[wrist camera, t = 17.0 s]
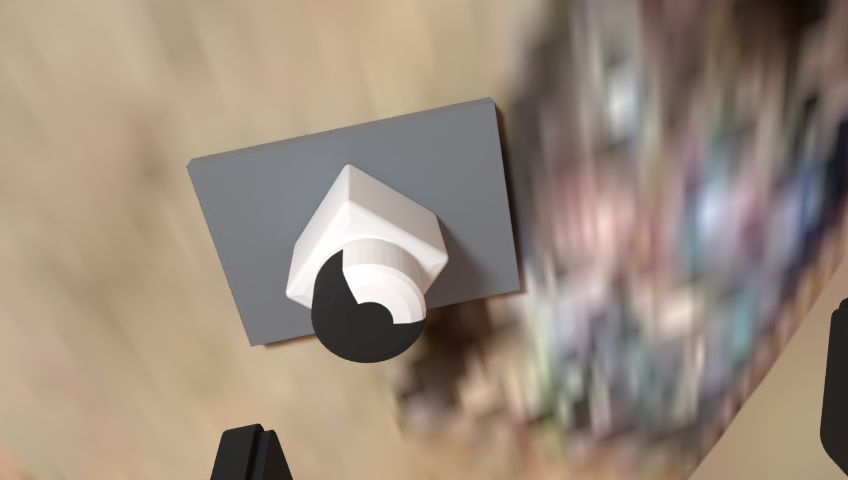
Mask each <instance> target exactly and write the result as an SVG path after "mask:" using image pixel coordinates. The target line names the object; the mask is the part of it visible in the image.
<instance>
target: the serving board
mask: <svg viewBox="0 0 848 480" xmlns="http://www.w3.org/2000/svg"><path fill="white" fill-rule="evenodd" d="M348 164H350V165H353V166H354V167H356V168H358V169H359V170H361V171H363V172H365V173H366V174H368V175H370V176H371V177H373V178H375V179H377V180H378V181H380V182H382V183H383V184H385V185H387V186H388V187H390V188H392V189H394V190H395V191H397V192H399V193H400V194H402V195H404V196H406V197H407V198H409V199H411V200H412V201H414V202H416V203H417V204H419V205H421V206H423V207H424V208H426V209H428V210H429V211H431V212H433V213H434V214H435V215H436V218H437V221H438V225H439V228H440V231H441V235H442V238H443V241H444V245H445V248H446V251H447V255H448V262H447V264H446V265H445V267H444V268H443V269H442V271H441V272H440V273H439V275H438V276H437V278H436V279H435V280H434V282H433V283H432V284H431V286H430V287H429V289H428V290H427V291H426V293H425V294H424V300H425V306H426V310H427V309H432V308H436V307H441V306H446V305H450V304H455V303H460V302H465V301H469V300H474V299H479V298H484V297H488V296H493V295H498V294H502V293H507V292H512V291H517V290H520V284H519V276H518V269H517V262H516V255H515V248H514V240H513V233H512V226H511V219H510V212H509V205H508V197H507V190H506V183H505V176H504V169H503V161H502V154H501V147H500V140H499V133H498V126H497V118H496V111H495V104H494V101H493V100H492V99H491V98H490V97H488V98H484V99H479V100H474V101H469V102H464V103H460V104H455V105H450V106H445V107H440V108H436V109H431V110H426V111H421V112H416V113H411V114H407V115H402V116H397V117H392V118H387V119H383V120H378V121H373V122H368V123H363V124H359V125H354V126H349V127H344V128H339V129H335V130H330V131H325V132H320V133H315V134H311V135H306V136H301V137H296V138H291V139H286V140H282V141H277V142H272V143H267V144H262V145H258V146H253V147H248V148H243V149H238V150H234V151H229V152H224V153H219V154H214V155H210V156H205V157H200V158H195V159H191V161H190V162H189V164H188V165H187V166H186V167H187V169H188V172H189V175H190V178H191V181H192V183H193V186H194V189H195V192H196V194H197V197H198V200H199V203H200V206H201V208H202V211H203V214H204V217H205V220H206V222H207V225H208V228H209V231H210V234H211V236H212V239H213V242H214V245H215V247H216V250H217V253H218V256H219V259H220V261H221V264H222V267H223V270H224V273H225V275H226V278H227V281H228V284H229V286H230V289H231V292H232V295H233V298H234V300H235V303H236V306H237V309H238V312H239V314H240V317H241V320H242V323H243V326H244V328H245V331H246V334H247V337H248V339H249V342H250V345H251V347H252V346H257V345H262V344H266V343H271V342H276V341H280V340H285V339H290V338H295V337H299V336H304V335H309V334H313V333H315V331H314V329H313V326H312V320H311V309H310V308H308V307H306V306H303V305H301V304H299V303H297V302H295V301H293V300H291V299H289V298H288V297H287V295H286V288H287V283H288V278H289V273H290V267H291V262H292V257H293V252H294V247H295V244H296V242H297V240H298V239H299V237H300V236H301V234H302V233H303V231H304V229H305V228H306V226H307V225H308V223H309V222H310V220H311V218H312V217H313V215H314V214H315V212H316V211H317V209H318V207H319V206H320V204H321V203H322V201H323V199H324V198H325V196H326V195H327V193H328V192H329V190H330V188H331V187H332V185H333V184H334V182H335V181H336V179H337V177H338V176H339V174H340V173H341V171H342V170H343V168H344V167H345V166H346V165H348Z"/></svg>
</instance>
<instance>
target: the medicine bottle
mask: <svg viewBox="0 0 848 480" xmlns="http://www.w3.org/2000/svg"><path fill="white" fill-rule="evenodd" d="M447 262H448V255H447V251H446V248H445V245H444V241H443V238H442V235H441V231H440V228H439V225H438V221H437V218H436V215H435V214H434V213H433V212H431V211H429V210H428V209H426V208H424V207H423V206H421V205H419V204H417V203H416V202H414V201H412V200H411V199H409V198H407V197H406V196H404V195H402V194H400V193H399V192H397V191H395V190H394V189H392V188H390V187H388V186H387V185H385V184H383V183H382V182H380V181H378V180H377V179H375V178H373V177H371V176H370V175H368V174H366V173H365V172H363V171H361V170H359V169H358V168H356V167H354V166H353V165H350V164H348V165H346V166H345V167H344V168H343V170H342V171H341V173H340V174H339V176H338V177H337V179H336V181H335V182H334V184H333V185H332V187H331V188H330V190H329V192H328V193H327V195H326V196H325V198H324V199H323V201H322V203H321V204H320V206H319V207H318V209H317V211H316V212H315V214H314V215H313V217H312V218H311V220H310V222H309V223H308V225H307V226H306V228H305V229H304V231H303V233H302V234H301V236H300V237H299V239H298V240H297V242H296V244H295V247H294V252H293V257H292V262H291V267H290V273H289V278H288V283H287V288H286V295H287V297H288V298H289V299H291V300H293V301H295V302H297V303H299V304H301V305H303V306H306V307H308V308H310V309H311V320H312V326H313V329H314V331H315V334H316V336H317V337H318V339H319V340H320V342H321V343H322V344H323V345H324V346H325V347H326V348H327V349H328V350H329V351H331V352H332V353H334V354H335V355H337V356H339V357H341V358H343V359H346V360H349V361H353V362H359V363H376V362H381V361H385V360H388V359H391V358H393V357H396V356H398V355H399V354H401V353H403V352H404V351H406V350H407V349H408V348H409V347H410V346H411V345H412V344H413V343H414V342H415V341H416V340H417V338H418V337H419V335H420V333H421V332H422V329H423V327H424V324H425V319H426V306H425V300H424V294H425V293H426V291H427V290H428V289H429V287H430V286H431V284H432V283H433V282H434V280H435V279H436V278H437V276H438V275H439V273H440V272H441V271H442V269H443V268H444V267H445V265H446V264H447Z"/></svg>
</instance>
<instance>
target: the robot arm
mask: <svg viewBox="0 0 848 480" xmlns="http://www.w3.org/2000/svg"><path fill="white" fill-rule="evenodd" d="M820 437H821V442H822V445H823V447H824V449H825V451H826V452H827V454H828V455H829V456H830V458H831V459H832V460H833V461H834V462H835V463H836V464H837V465H838V466H839V467H840V469H841V470H843V472H844V473H845V474H846V475H847V476H848V298H846V299H844V300H842V302H841V303H840V306H839V309H837V310H835V311H834V312H833V313H832V317H831V325H830V335H829V346H828V356H827V367H826V377H825V387H824V396H823V408H822V417H821V427H820ZM210 480H293V478H292V475H291V473H290V470H289V467H288V464H287V462H286V459H285V456H284V453H283V451H282V448H281V445H280V443H279V440H278V437H277V435H276V432H275V431H274V430H268V431H264V429H263V427H262V426H261V424H253V425H248V426H244V427H239V428H234V429H230V430H226V431H224V432H223V434H222V437H221V441H220V444H219V448H218V452H217V456H216V459H215V463H214V467H213V471H212V475H211V478H210Z"/></svg>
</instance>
